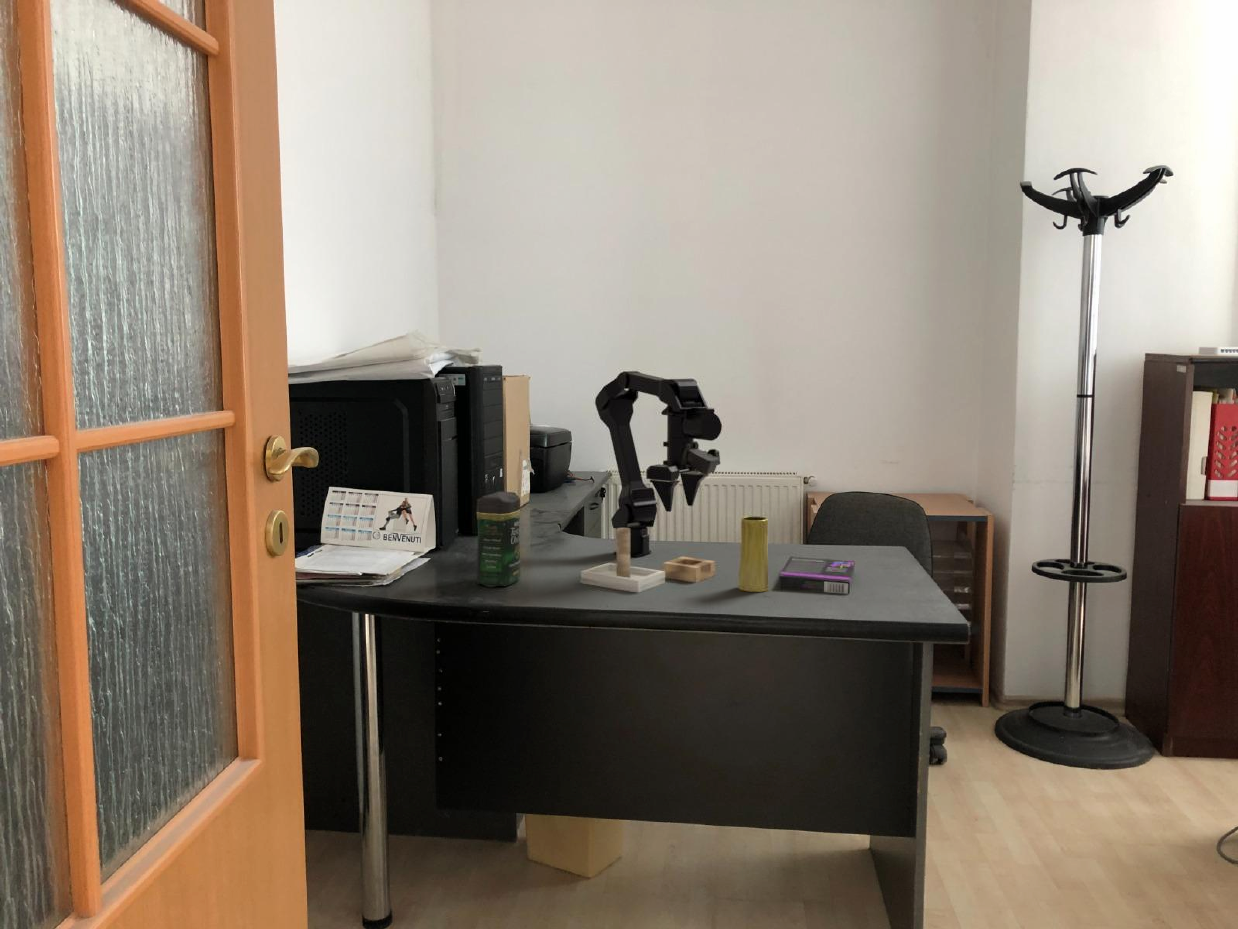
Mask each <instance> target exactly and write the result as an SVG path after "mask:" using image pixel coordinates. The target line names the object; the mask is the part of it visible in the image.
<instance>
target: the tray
mask: <svg viewBox="0 0 1238 929" xmlns="http://www.w3.org/2000/svg"><path fill="white" fill-rule="evenodd" d="M616 566H617V563H613V562H607V563H604V564H600V565H597V566H594V567H591V568H588V569H584V570H582V571H580V584H585V585H591V586H597V587H602V588H608V589H614V590H621V591H626V592H631V593H637V594H639V593H641V592H645V591H647V590H649V589H652V588H655V587H657V586H660V585H663V584H665V583H666V578H665V571H663V570H658V569H653V568H645V567H640V566H639V567H638V566H633V565H630V578H626V577H620V576H616Z"/></svg>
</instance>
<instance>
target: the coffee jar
mask: <svg viewBox="0 0 1238 929" xmlns="http://www.w3.org/2000/svg"><path fill="white" fill-rule="evenodd" d="M476 519H477V561H476V582H477V583H478V584H480V585H483V586H486V587H491V588H492V587H493V588H494V587H497V586H499V587H500V586H504V587H507V586H510V585H511V584H514V583H516V582H518V581H519V580H520V578H521V575H522V574H521V573H522V572H521V569H522V568H521V553H520V552H521V551H520V548H521V547H520V521H521V520H520V519H521V498H520V497H519V495H517V493H516V492H513V491H500V490H499V491H497V492H494V493H491V494H488V495H482V496H481V498H478V499H477V501H476Z"/></svg>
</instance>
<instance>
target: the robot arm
mask: <svg viewBox="0 0 1238 929" xmlns="http://www.w3.org/2000/svg"><path fill="white" fill-rule="evenodd" d="M697 383H698V382H697V380H696V379H694V378H664V377H659V376H655V375H651V374H647V373H643V372H640V371H637V370H632V371H630V370H629V371H624V370H623V371H622V372H620V373H618V375H617V376H616V378H614V379H613V380H612V381H610V382H609V383H607V384H605V385H604V386H603V387H602V389H601V390H600V391H599V392H598V394H597V395H596V397H595V398H594V399H595V400H594V405H595V407H596V411H597V414H598V416H599V419H600V420H601V421H602V423H604V425H605V426H606V427H607V428H608V430H609V434H610V439H611V443H612V449H613V453H614V457H615V461H616V467H617V469H618V474H619V479H620V484H621V490H620V492H619V497H618V500H617V502H618V509H617V510H616V512H615V513H614V514H613V516H612V518H611V520H610V521H611V524H612V525H611V526H612V528H613V529H616V530H617V528H630V557H636V558H637V557H642V556H645V555H647V554H650V553H652V550H651V549H650V534H649V528H653V527H654V525H655V522H656V521H655V520H656V516H657V514H658V506H657V505H658V502H657V499H656V494H655V491H656V493H657V494H658V496H659V498H660V501H661V503H662V505H663V507H664V509H665V511H666V512H669V513H670V512H672V509H673V503H674V494H675V493H674V490H675V487H677V485H678V484H679V483H680V481H681V483H682V484H681V485H682V488H683V492H684V497H685V501H686V505H687V506H689V507H692V506H694V503H695V499H696V497H697V493H698V490H699V488H700V485H701V483H702V482H703V481H704V479H705V478H707V477H708V476H709V475H710V473H712V474H714V473H715V471H716V468H717V466H719V465H721V456H720V455H721V454H720V451H719V450H718V449H716V448H711V449H709V450H708V451H706V450H701V449H699V448H700V446H699V443H698V441H695V440H700V441H702V440H703V441H709V442H711V441H715V440H716V439H718V437H720V434H721V433H722V429H723V426H722V422H721V419H720V417H719V416H718V415H717V414H716V413H715V408H714V407H709V406H708V404H707V401H706V400H705V398H704V395H703V393H702V391H701V389H700V387H699V385H698V384H697ZM639 393H643V394H647V395H651V396H654V397H657V398H658V400H659V401H660V402H662V403H663V404H664V405H665V404H666V405H667V406H666V407H665V408H664V409H663V410H661V413H660V414H661V415H662V416H667V421H666V422H667V427H666V429H667V430H666V431H667V432H666V433H667V434H666V438H667V439H666V441H663V442H662V445H663V446H662V447H665V448H666V460H665V459H664V460H662V464H660V463H659V464H652V465H649V466H648V467H647V469H646V471H645V478H646V479H647V480H649V482H650V483H652V485H653V487H654V488H653V487H648V486H647V485H646V484H645V483H644V481H643V476H642V472H641V468H640V463H639V460H638V454H637V449H636V445H635V440H634V436H633V433H632V428H631V420H632V418H633V414H634V404H635V402H636V401H637V400H638V399H639ZM679 477H680V479H681V480H678V479H679ZM613 552H614V554H615V555H617V550H615V551H613Z"/></svg>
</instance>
